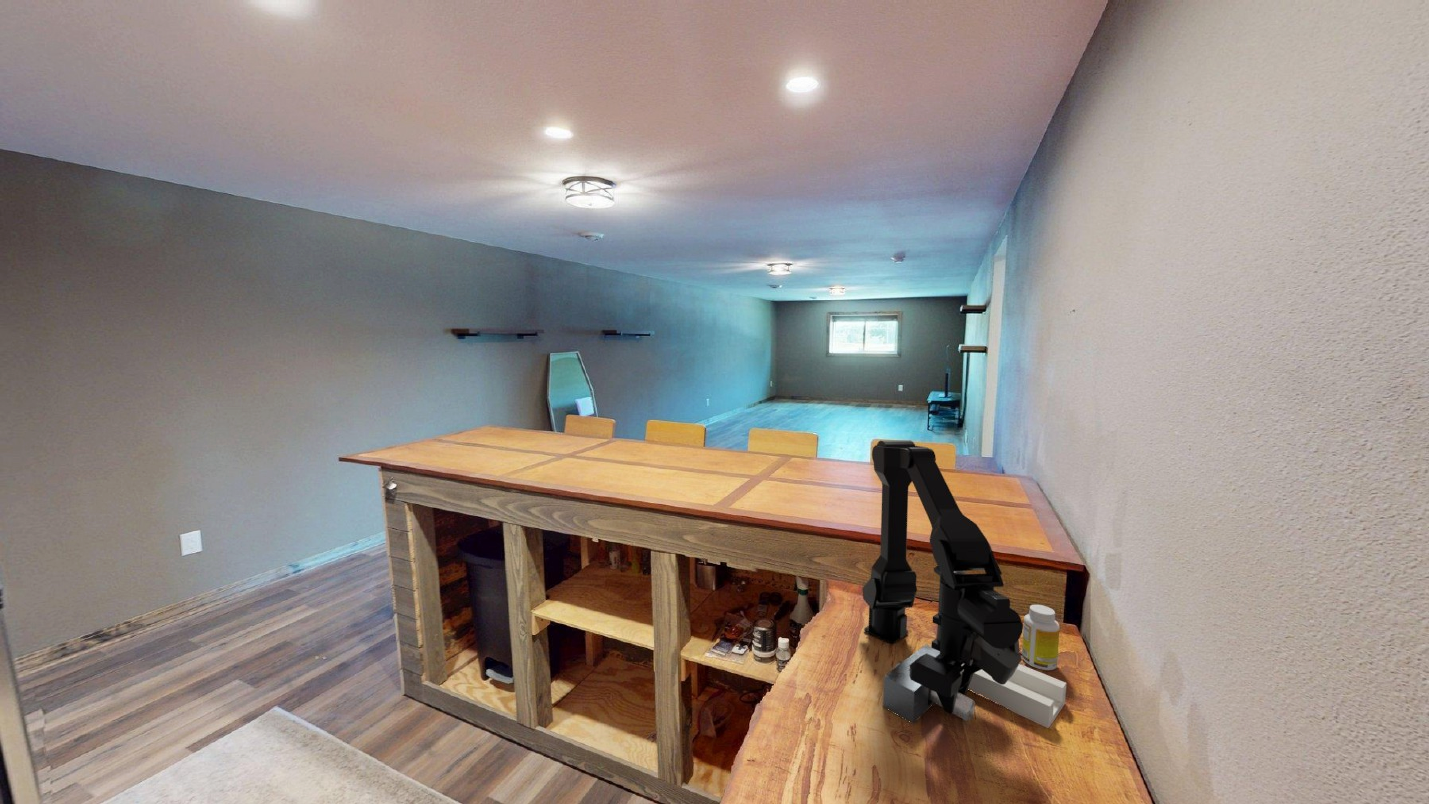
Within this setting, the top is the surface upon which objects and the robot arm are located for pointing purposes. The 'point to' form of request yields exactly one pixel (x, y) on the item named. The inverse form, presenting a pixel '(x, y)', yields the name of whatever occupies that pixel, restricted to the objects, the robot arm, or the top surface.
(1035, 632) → the supplement bottle
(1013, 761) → the top surface
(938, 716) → the top surface
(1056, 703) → the cradle
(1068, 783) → the top surface
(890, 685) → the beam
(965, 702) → the axle
